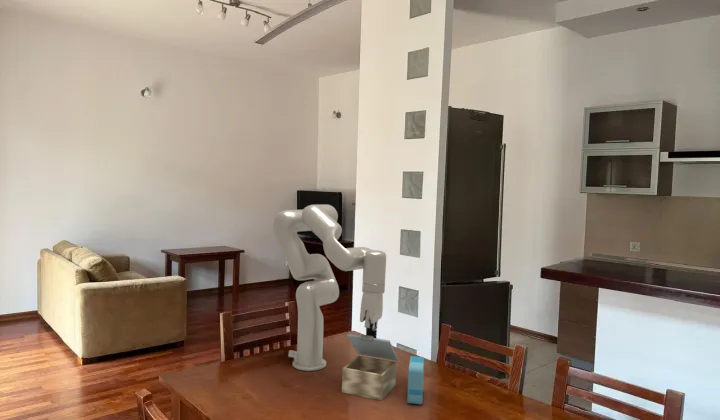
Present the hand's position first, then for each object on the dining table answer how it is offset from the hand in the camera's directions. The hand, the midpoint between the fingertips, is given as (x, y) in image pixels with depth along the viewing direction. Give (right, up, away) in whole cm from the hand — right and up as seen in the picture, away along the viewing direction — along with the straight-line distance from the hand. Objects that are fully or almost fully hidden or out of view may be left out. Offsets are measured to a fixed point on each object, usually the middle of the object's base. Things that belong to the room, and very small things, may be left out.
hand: (370, 341), depth 170 cm
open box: (-1, -16, 0) cm, 16 cm away
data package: (+14, -17, -6) cm, 23 cm away
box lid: (0, -3, 0) cm, 3 cm away
